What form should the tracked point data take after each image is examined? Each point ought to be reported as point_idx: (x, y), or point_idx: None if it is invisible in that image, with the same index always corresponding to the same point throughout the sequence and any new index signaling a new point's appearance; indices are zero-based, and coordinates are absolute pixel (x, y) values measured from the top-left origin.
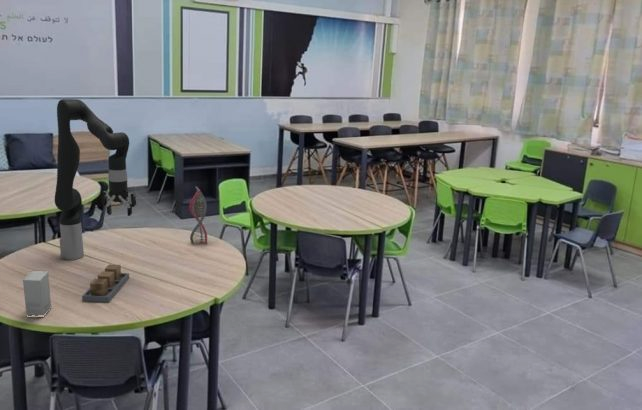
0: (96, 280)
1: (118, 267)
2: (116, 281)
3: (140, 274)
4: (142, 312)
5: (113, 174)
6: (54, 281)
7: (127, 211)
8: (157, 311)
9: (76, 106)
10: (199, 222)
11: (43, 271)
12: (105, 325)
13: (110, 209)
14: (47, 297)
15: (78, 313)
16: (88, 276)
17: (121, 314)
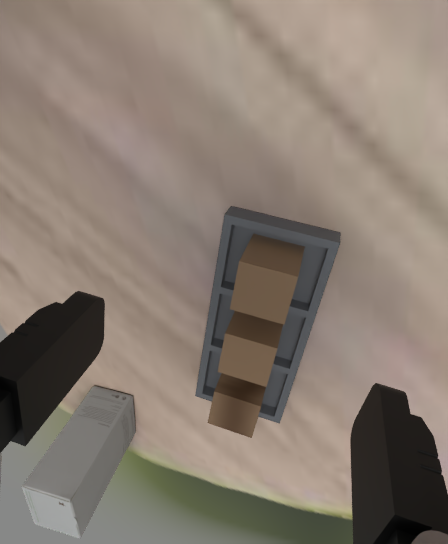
0: (223, 405)
1: (291, 299)
2: (290, 312)
3: (397, 192)
4: None
5: None
6: (56, 214)
7: (352, 501)
8: None
9: None
10: None
11: (57, 500)
12: (290, 505)
13: (57, 372)
14: (115, 448)
15: (210, 438)
16: (159, 183)
17: (326, 475)
